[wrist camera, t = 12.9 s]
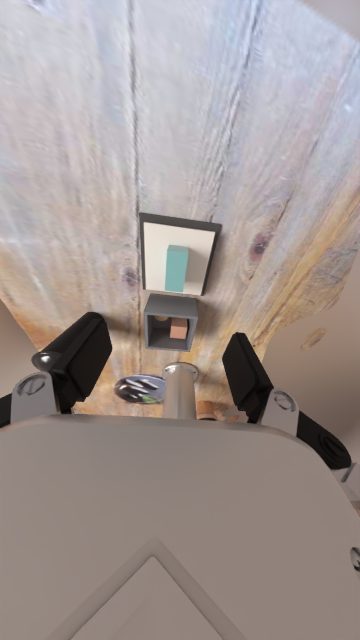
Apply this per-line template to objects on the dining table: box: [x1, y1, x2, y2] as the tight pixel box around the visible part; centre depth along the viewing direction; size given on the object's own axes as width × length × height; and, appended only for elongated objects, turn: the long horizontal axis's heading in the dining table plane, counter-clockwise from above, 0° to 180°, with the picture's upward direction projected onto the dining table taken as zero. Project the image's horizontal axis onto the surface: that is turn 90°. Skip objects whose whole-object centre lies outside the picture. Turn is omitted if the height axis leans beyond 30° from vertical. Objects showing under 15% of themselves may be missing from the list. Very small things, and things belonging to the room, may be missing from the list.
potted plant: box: [196, 401, 218, 421], centre depth 56 cm, size 10×10×25 cm
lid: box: [144, 222, 215, 295], centre depth 24 cm, size 11×11×6 cm
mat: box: [139, 213, 221, 296], centre depth 26 cm, size 13×13×1 cm
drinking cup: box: [32, 312, 105, 372], centre depth 27 cm, size 8×8×20 cm
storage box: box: [144, 293, 198, 352], centre depth 31 cm, size 10×10×7 cm
